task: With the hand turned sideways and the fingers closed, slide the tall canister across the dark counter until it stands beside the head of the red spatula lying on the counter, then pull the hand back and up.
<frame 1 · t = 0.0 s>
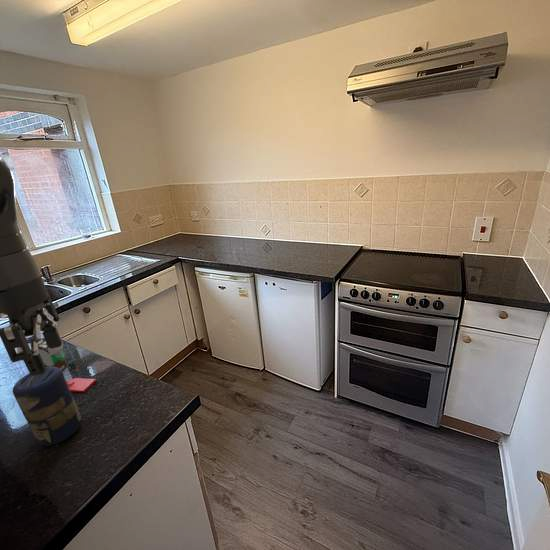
hand: (48, 359, 55), 28 cm above the countertop, tool pointing down, fingers open, 8 cm apart
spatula: (36, 383, 94), on the countertop
food container: (59, 366, 102), on the countertop
canister: (62, 432, 75), on the countertop
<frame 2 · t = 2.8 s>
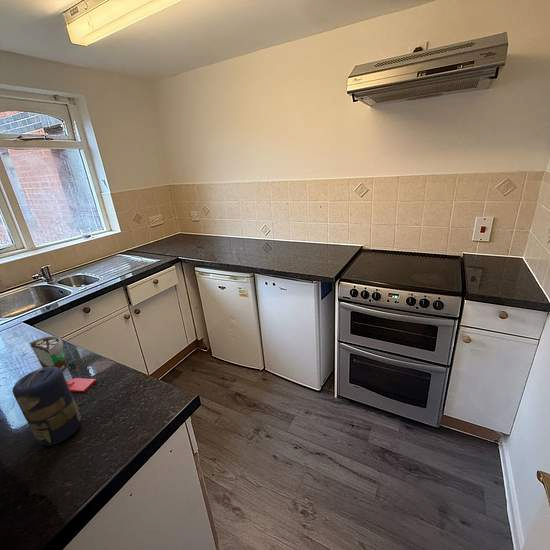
nothing on the countertop moved.
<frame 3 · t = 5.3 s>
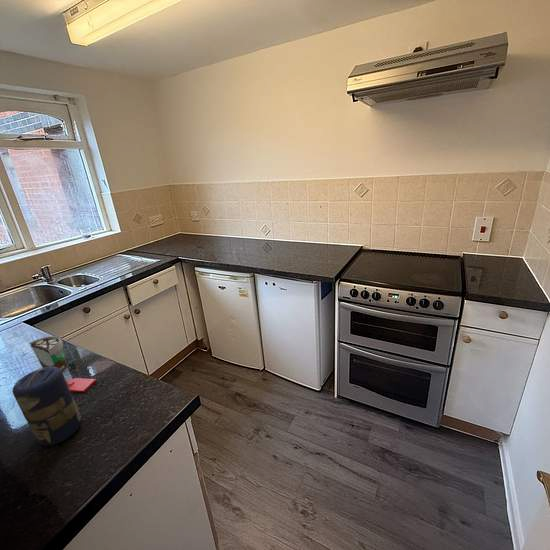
nothing on the countertop moved.
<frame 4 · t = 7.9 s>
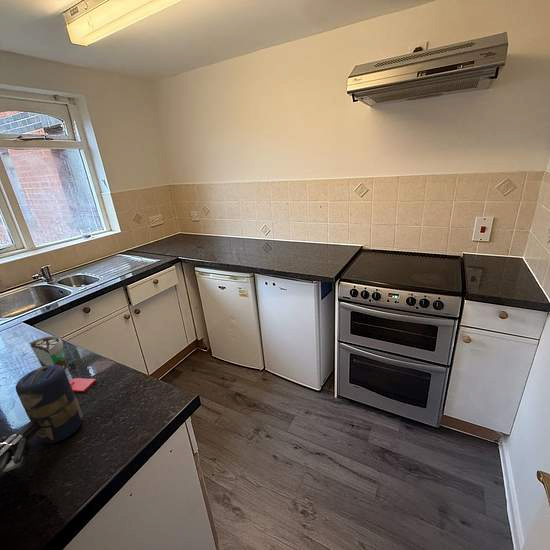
hand: (36, 424, 69), 7 cm above the countertop, tool horizontal, fingers closed
canister: (64, 430, 75), on the countertop, touching gripper
everything else where it was.
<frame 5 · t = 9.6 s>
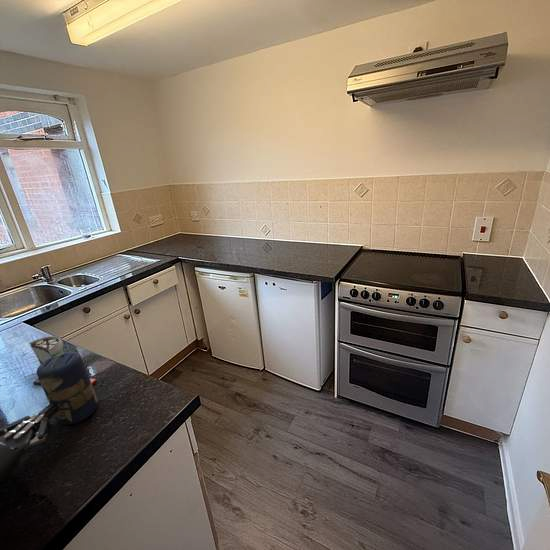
hand: (55, 405, 73), 7 cm above the countertop, tool horizontal, fingers closed
canister: (80, 413, 80), on the countertop, touching gripper
everything else where it was.
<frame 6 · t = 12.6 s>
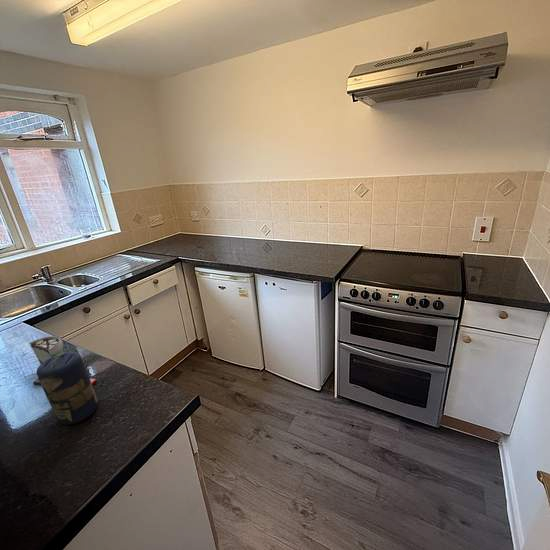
canister: (80, 413, 80), on the countertop
everything else where it was.
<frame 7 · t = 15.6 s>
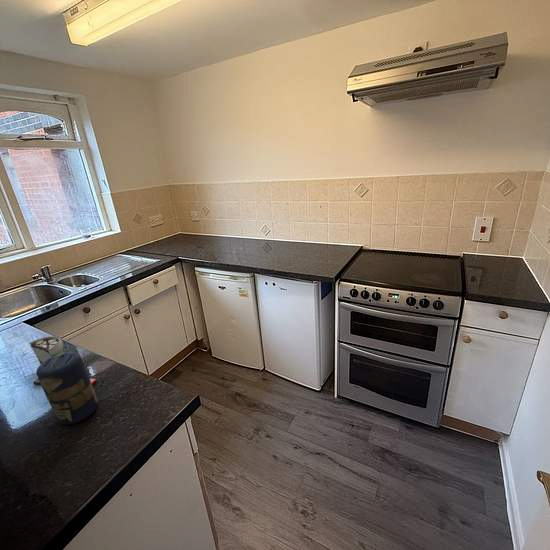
nothing on the countertop moved.
at the end: canister inside the target area on the countertop beside the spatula (0.4 cm from its centre), on the countertop; canister tilted 0°; canister moved 5.9 cm from its start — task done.
